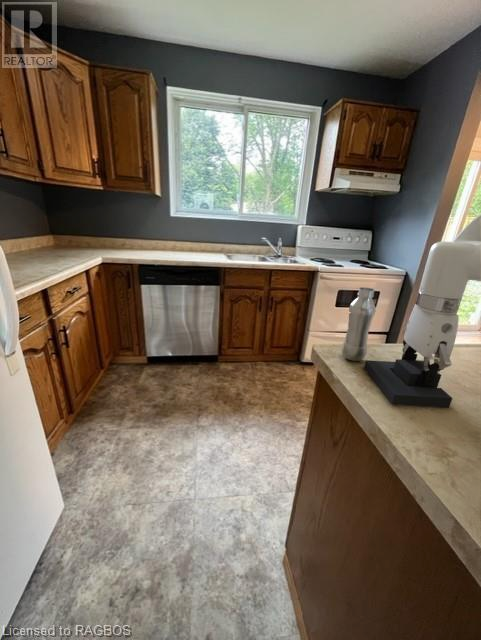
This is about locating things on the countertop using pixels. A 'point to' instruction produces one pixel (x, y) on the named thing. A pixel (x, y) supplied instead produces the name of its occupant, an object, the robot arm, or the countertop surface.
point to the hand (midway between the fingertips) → (414, 375)
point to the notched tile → (404, 387)
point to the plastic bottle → (359, 325)
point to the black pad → (411, 372)
